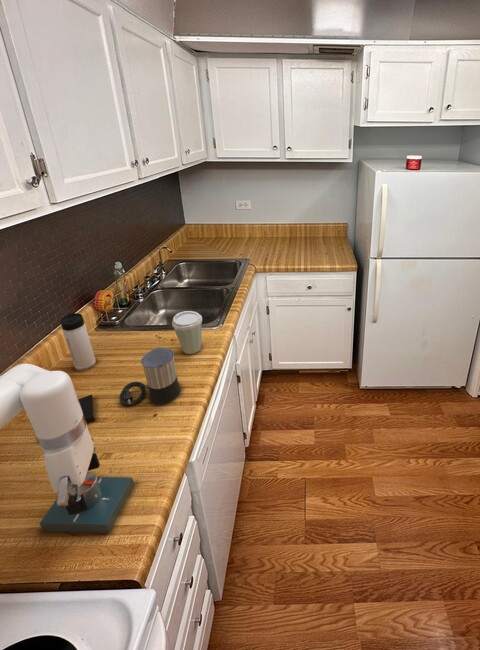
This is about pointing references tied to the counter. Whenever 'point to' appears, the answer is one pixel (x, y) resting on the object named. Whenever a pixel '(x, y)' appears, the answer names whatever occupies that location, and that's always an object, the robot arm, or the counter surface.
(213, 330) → the counter surface
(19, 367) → the robot arm
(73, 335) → the travel mug
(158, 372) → the milk frother
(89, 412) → the button box
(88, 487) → the dial knob
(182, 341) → the disposable coffee cup
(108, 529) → the dial panel
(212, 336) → the counter surface
